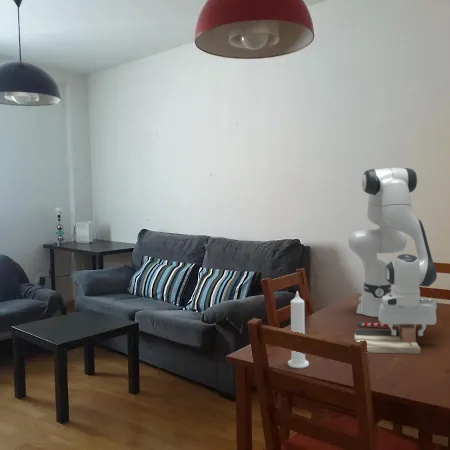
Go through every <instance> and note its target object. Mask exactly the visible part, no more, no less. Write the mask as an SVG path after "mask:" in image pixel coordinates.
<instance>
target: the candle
mask: <svg viewBox="0 0 450 450" xmlns="http://www.w3.org/2000/svg"><path fill="white" fill-rule="evenodd" d="M305 323H306V322H305V300H304V299H302V298H301V297H300V293H299V291H298V290H297V291H296V293H295V296H294V298H293V299H291V300H290V332H291V331H293V332H299V333H303V334H305V335H306V333H305V331H306V329H305V326H306V325H305ZM290 353H291V359H289V360H288V361H287V365H288V366H289V367H290V368H293V369H304V368H307V367H309V365H310V362H309V361H308V360H307V359H306V353H305V354H303V353H300V352H296V351H291V352H290Z"/></svg>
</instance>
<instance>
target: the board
mask: <svg viewBox="0 0 450 450" xmlns="http://www.w3.org/2000/svg"><path fill="white" fill-rule="evenodd" d="M395 330H396V336H392V334H391V329H386V328H385V329H384V328H383V329H382V328H381V329H380V328H379V329H378V328H355V333H353V335H354V336H353V339H354V342H355V341H356V342H360V341H364V340H365V341H366V342H367V351H368V352H367V353H375V354H376V353H379V354H380V353H381V354H382V353H383V354H385V353H386V354H411V355H413V354H421V347H420V345H419V344H418V343H417V341H416V340H415V342H402V340H401V339H400V337H399V329H395ZM356 342H355V343H356Z"/></svg>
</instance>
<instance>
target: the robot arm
mask: <svg viewBox="0 0 450 450" xmlns="http://www.w3.org/2000/svg"><path fill="white" fill-rule="evenodd" d="M417 184H418V176H417V173H416V171H415V170H414V169H413V168H408V167H402V168H401V167H388V168H385V167H384V168H376V169H374V168H371V169H367V170H365V172H364V173H363V174H362V178H361V186H362V189H363V191H364V193H366V194H368V204H367V205H368V206H367V215H366V216H367V219H368V220H369V221H370V222H371V223H372V224H375V225H377V226H379V227H378V228H377V229H375V228H374V229H359V230H355V231H352V233H350V235H349V237H348V247H349V248H350V250H351V251H352V252H353V253H355V254H356V255H357V256H358V257H359V259H360V260H361V262H362V265H363V268H364V269H363V270H364V283H363V291H364V292H363V293H362V294H361V295H360V296H359V297H358V302H359V304H358V306H357V309H356V314H360V315H364V316H369V317H373V318H374V317H375V318H378V321H379V323H381V324H388V326H387V327H389V328H390V329H389V330H391V334H392V336H396V330H397V329H393V327H394V326H393V324H417V325H420V326H421V328H420V329H419V330H417V336H418V337H423V336H424V331H425V330H426V328H427V325H429V326H431V325H433V326H434V325H436V323H437V313H436V310H437V309H438V308H437V307H438V306H437V302H436V301H435V300H433V299H432V298H428V299H427V298H421V289H420V287H430V286H431V285H432V284H434V283H435V282H436V281H437V275H438V274H437V273H438V272H437V269H436V266H435V263H434V260H433V258H432V253H431V250H430V246H429V242H428V238H427V234H426V231H425V227H424V225H423V222H422V221H421V219H419V218H417V217H416V215H415V213H414V212H413V207H412V199H411V193H412V192H414V190H416V188H417ZM407 235H408V236H410V238H412V240H413V241H414V245H415V249H416V252H417V256H416V255H414V254H413V255H412V254H408V253H405V254H404V253H403V254H399V255H397V256H396V258H395V260H392V261H390V262H389V263H387V262H385V261H383V260H381V259H378V254H395V253H399V252H403V251H404V250H405V248H406V247H407V243H408V239H407ZM392 286H395V287H394V292H392Z"/></svg>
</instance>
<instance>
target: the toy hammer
mask: <svg viewBox="0 0 450 450" xmlns="http://www.w3.org/2000/svg"><path fill="white" fill-rule="evenodd" d="M412 325H413V326H414V328H415V329H416V330H417V327H418V324H412ZM358 327H359V328H362V327H389V326H388V324H381V323H380V322H361V321H360V322H358ZM393 327H399V324H393Z"/></svg>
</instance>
